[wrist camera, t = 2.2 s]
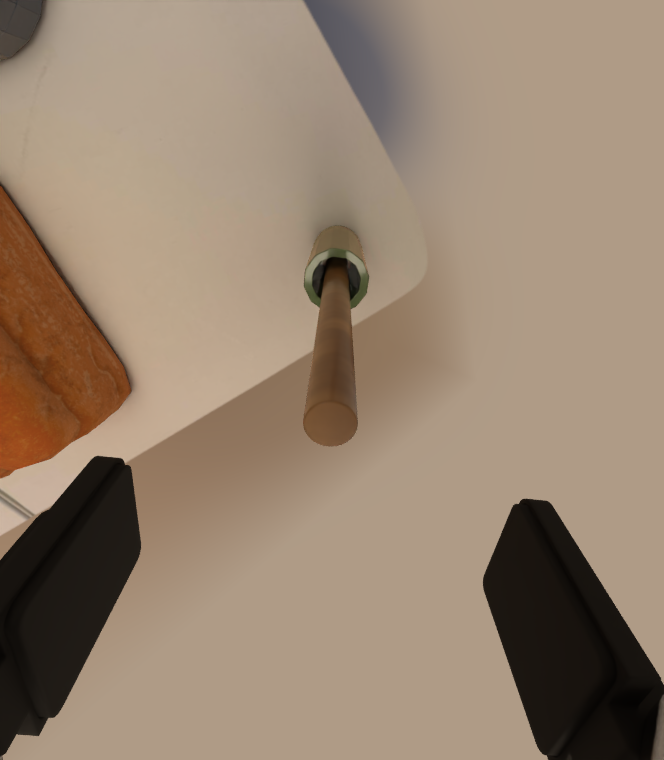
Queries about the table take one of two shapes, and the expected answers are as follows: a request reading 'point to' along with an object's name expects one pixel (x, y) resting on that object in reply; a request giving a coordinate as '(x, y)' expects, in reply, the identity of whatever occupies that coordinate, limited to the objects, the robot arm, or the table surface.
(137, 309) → the table surface
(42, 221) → the table surface
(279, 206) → the table surface
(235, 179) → the table surface
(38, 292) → the bread
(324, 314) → the wooden dowel rod
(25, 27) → the bowl
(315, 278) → the utensil pot
